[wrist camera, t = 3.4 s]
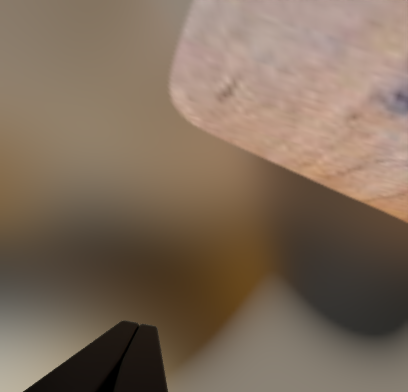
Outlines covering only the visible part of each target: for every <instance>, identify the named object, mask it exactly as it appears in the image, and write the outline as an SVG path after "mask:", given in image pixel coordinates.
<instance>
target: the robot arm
mask: <svg viewBox="0 0 408 392" xmlns="http://www.w3.org/2000/svg"><path fill="white" fill-rule="evenodd" d="M23 392H168V389H167V383H166V377H165V371H164V365H163V359H162V353H161V347H160V341H159V335H158V329H157V327H156V326H152V325H146V324H141V325H140V326H139V324H138V323H136V322H130V321H121V322H119V323H118V324H117V325H115V326H114V327H112V328H111V329H110V330H108V331H107V332H105V333H104V334H103V335H101V336H100V337H99V338H97V339H96V340H94V341H93V342H92V343H90V344H89V345H87V346H86V347H85V348H83V349H82V350H81V351H79V352H78V353H76V354H75V355H73V356H72V357H71V358H69V359H68V360H67V361H65V362H64V363H62V364H61V365H60V366H58V367H57V368H55V369H54V370H53V371H52V372H50V373H48V374H47V375H46V376H44V377H43V378H42V379H40V380H39V381H37V382H36V383H34V384H33V385H32V386H30V387H29V388H28V389H26V390H25V391H23Z"/></svg>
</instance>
